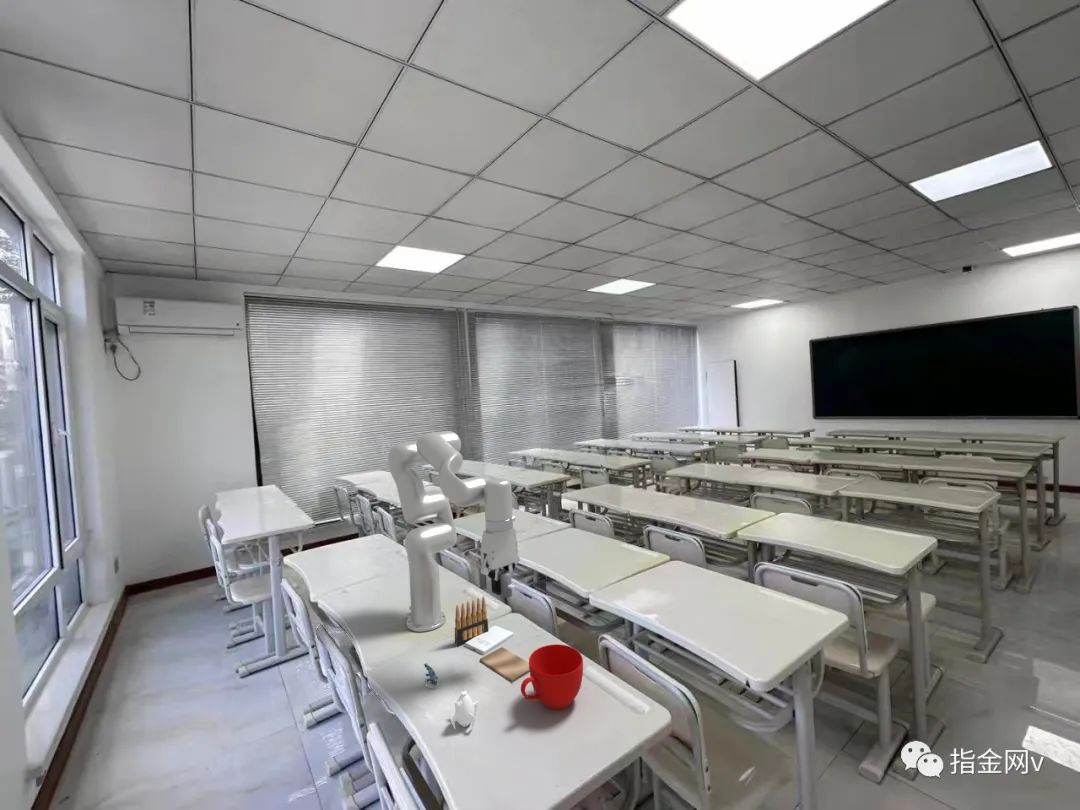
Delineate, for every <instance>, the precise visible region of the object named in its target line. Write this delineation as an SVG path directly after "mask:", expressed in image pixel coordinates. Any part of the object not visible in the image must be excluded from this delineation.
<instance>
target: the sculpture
mask: <svg viewBox="0 0 1080 810" xmlns="http://www.w3.org/2000/svg"><path fill="white" fill-rule="evenodd" d="M423 666H424V668H426V670H427V673H425V681H424V683H425V684H424V685H425V686H426V685H427V686H426V687H428V686H429V687H430V688H432V689H433V690H434V689H435V690H437V689H439V688H440V685H439V682H438V676H437V675H436V672H435V671H434V669H433V668H432V667H431V666H430V665H429V664H428V663H424V664H423ZM429 687H428V688H429ZM438 687H439V688H438Z"/></svg>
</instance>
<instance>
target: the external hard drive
mask: <svg viewBox="0 0 1080 810" xmlns="http://www.w3.org/2000/svg"><path fill="white" fill-rule="evenodd" d="M488 630H489V631H488V632H486V633H483V634H481V635H478V636H476V637H474V638H473V639H471V640H469V641H467V642H466V643H465V644H464V647H466V648H468V649H470V650H472V651H475V652H477V653H479V654H481V655H483V656H486V655H487V654H489V653H490V652H491V651H493V650H494V649H496V648H498V646H500V645H502V644H504V643H505V642H507V641H508V640H510V639H511V638H513V637H514V633H513V631H511V630H508V629H505V628H503V627H500V626H498V625H493V626H491V627H490V628H489V627H488Z"/></svg>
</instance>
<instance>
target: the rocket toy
mask: <svg viewBox="0 0 1080 810" xmlns="http://www.w3.org/2000/svg"><path fill="white" fill-rule="evenodd" d="M457 699H458V700H456V702H454V708H455V710H454V716H452V717H451V718H450V719H449V720H450V724H452V726H453V729H454V730H456V723H458V725H460V726H461V727H463V728H466V727H468V726H469V725H470V724H472V725H471V729H472V730H473V728H474V725H475V721H476V714H477V711H478V707H479V701H478V700H477V701H475V702H473V699H472V698H471V697H470V695H469V694H468V693H467V690H463V691H461V692H460V695H459V696H458V698H457ZM455 721H456V723H455Z"/></svg>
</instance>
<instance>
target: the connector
mask: <svg viewBox="0 0 1080 810" xmlns="http://www.w3.org/2000/svg"><path fill="white" fill-rule="evenodd" d="M499 580H500V585H501V594H500V595H498V594H495V593H493V592H492V591H491V593H492V594H494V595H497V596H498V597H500V598H503V599H508V598H511V597H512V596H513V590H515V589H517V586H516V585H514V584H512V582H513V581H512V575H511V572H509V571H506V570H504V569H503V568H499Z"/></svg>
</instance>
